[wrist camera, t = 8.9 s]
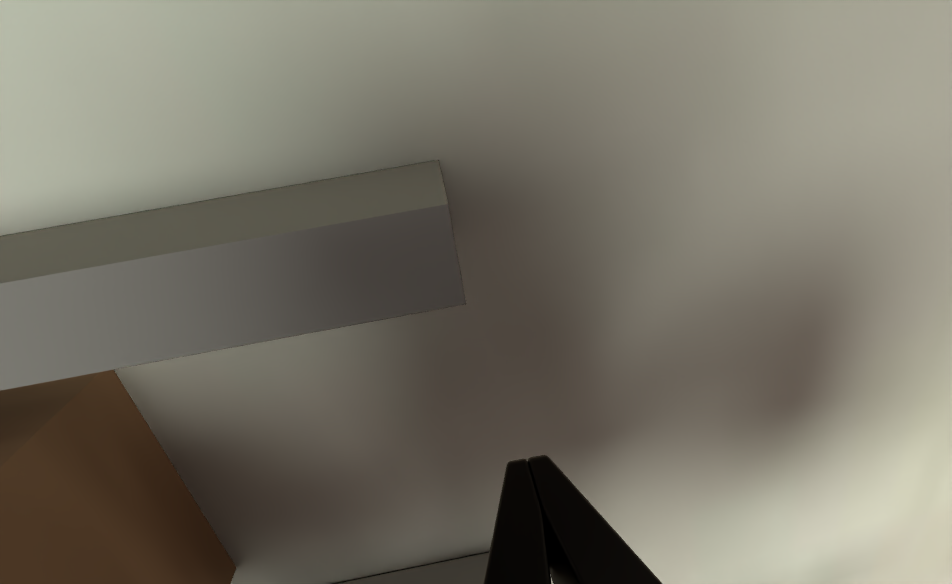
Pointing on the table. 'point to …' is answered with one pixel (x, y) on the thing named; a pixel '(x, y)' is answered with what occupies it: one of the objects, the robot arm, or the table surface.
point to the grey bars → (232, 283)
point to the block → (95, 493)
